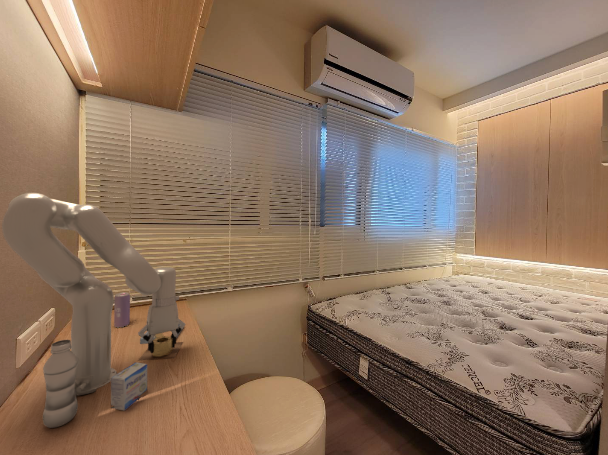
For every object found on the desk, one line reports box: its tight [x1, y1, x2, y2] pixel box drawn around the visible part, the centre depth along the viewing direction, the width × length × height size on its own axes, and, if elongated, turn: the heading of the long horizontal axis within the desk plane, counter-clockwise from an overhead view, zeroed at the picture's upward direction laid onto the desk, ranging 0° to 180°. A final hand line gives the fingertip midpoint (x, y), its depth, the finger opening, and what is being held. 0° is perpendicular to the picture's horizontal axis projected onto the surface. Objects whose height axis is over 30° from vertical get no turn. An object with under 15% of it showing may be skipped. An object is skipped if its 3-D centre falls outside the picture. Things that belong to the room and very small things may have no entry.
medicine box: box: [110, 362, 148, 411], centre depth 73 cm, size 8×4×9 cm, turn 168°
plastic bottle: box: [42, 339, 79, 429], centre depth 64 cm, size 6×7×20 cm
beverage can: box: [113, 292, 131, 329], centre depth 122 cm, size 6×6×15 cm
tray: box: [139, 324, 185, 345], centre depth 111 cm, size 15×13×3 cm
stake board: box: [137, 341, 184, 361], centre depth 98 cm, size 13×12×5 cm
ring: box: [152, 333, 173, 357], centre depth 98 cm, size 10×6×4 cm, turn 41°
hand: (162, 348), depth 96 cm, fingers closed on ring, 6 cm apart
